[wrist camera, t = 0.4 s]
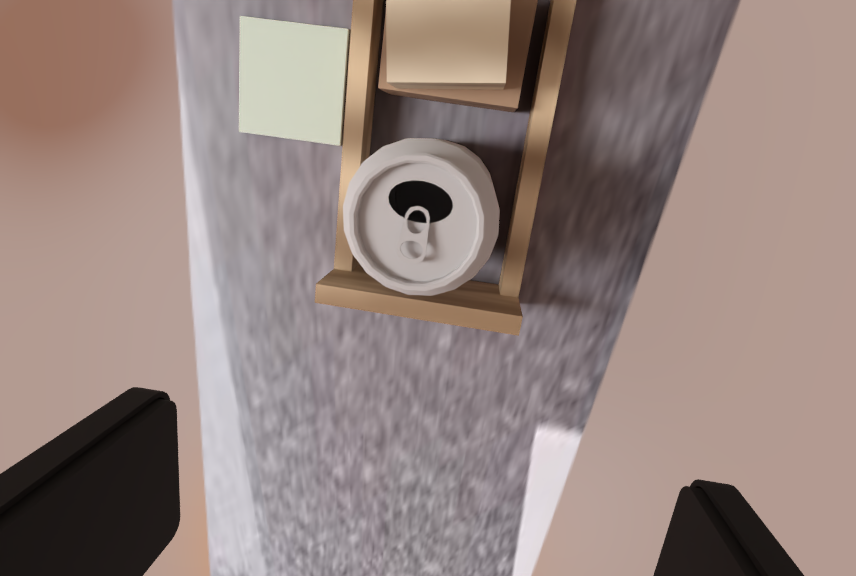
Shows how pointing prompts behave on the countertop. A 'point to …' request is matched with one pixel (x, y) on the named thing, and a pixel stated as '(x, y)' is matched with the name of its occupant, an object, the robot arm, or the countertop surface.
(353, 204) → the can
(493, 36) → the offcut small
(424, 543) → the countertop surface
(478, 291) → the frame
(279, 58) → the mat
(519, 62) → the offcut large
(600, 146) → the countertop surface
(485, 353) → the countertop surface
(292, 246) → the countertop surface
